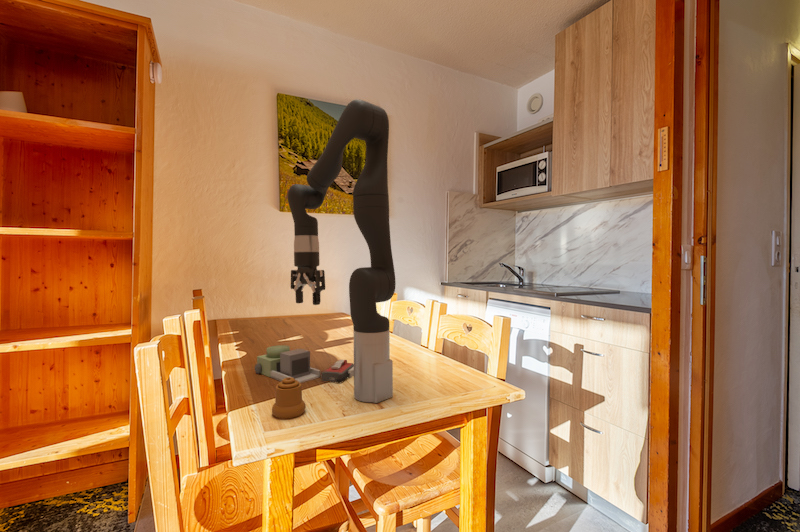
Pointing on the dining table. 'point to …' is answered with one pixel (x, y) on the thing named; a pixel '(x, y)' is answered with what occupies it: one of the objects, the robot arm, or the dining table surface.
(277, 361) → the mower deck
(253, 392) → the dining table surface
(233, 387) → the dining table surface
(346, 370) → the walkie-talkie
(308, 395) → the dining table surface
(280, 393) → the ornamental finial
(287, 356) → the grey cube box
